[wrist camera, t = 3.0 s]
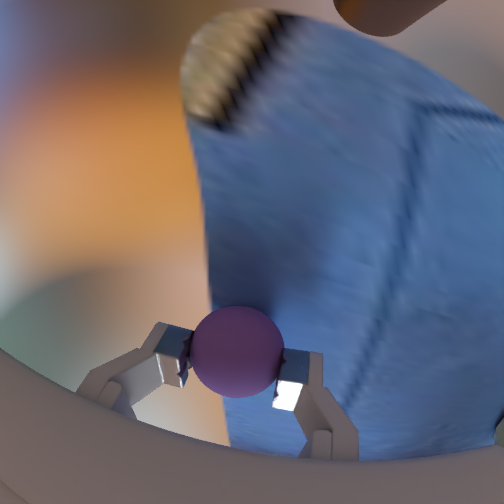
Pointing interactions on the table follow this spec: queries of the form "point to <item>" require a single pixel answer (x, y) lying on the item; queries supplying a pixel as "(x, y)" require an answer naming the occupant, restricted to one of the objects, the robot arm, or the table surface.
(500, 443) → the bowl
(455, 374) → the table surface
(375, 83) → the table surface
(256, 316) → the ball
